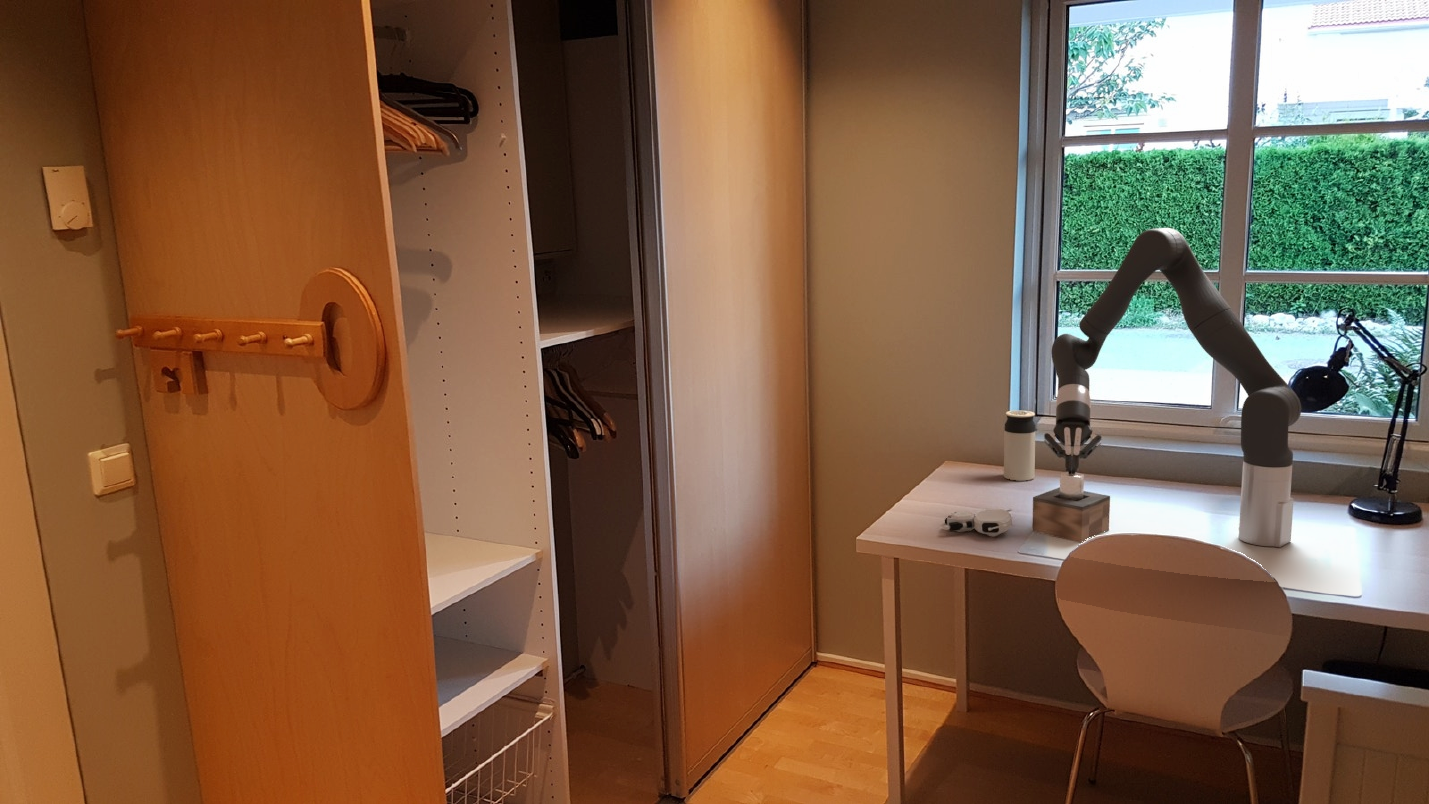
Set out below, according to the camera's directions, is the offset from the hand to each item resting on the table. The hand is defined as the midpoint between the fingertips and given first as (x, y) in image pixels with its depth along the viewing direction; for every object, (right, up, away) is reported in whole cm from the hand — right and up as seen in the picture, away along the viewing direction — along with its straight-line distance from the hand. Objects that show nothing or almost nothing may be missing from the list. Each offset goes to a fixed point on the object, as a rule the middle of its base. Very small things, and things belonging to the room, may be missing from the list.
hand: (1071, 472), depth 228 cm
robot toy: (-20, -14, +4) cm, 25 cm away
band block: (0, -13, +2) cm, 14 cm away
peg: (0, -9, +1) cm, 9 cm away
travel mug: (+3, -5, +49) cm, 49 cm away
